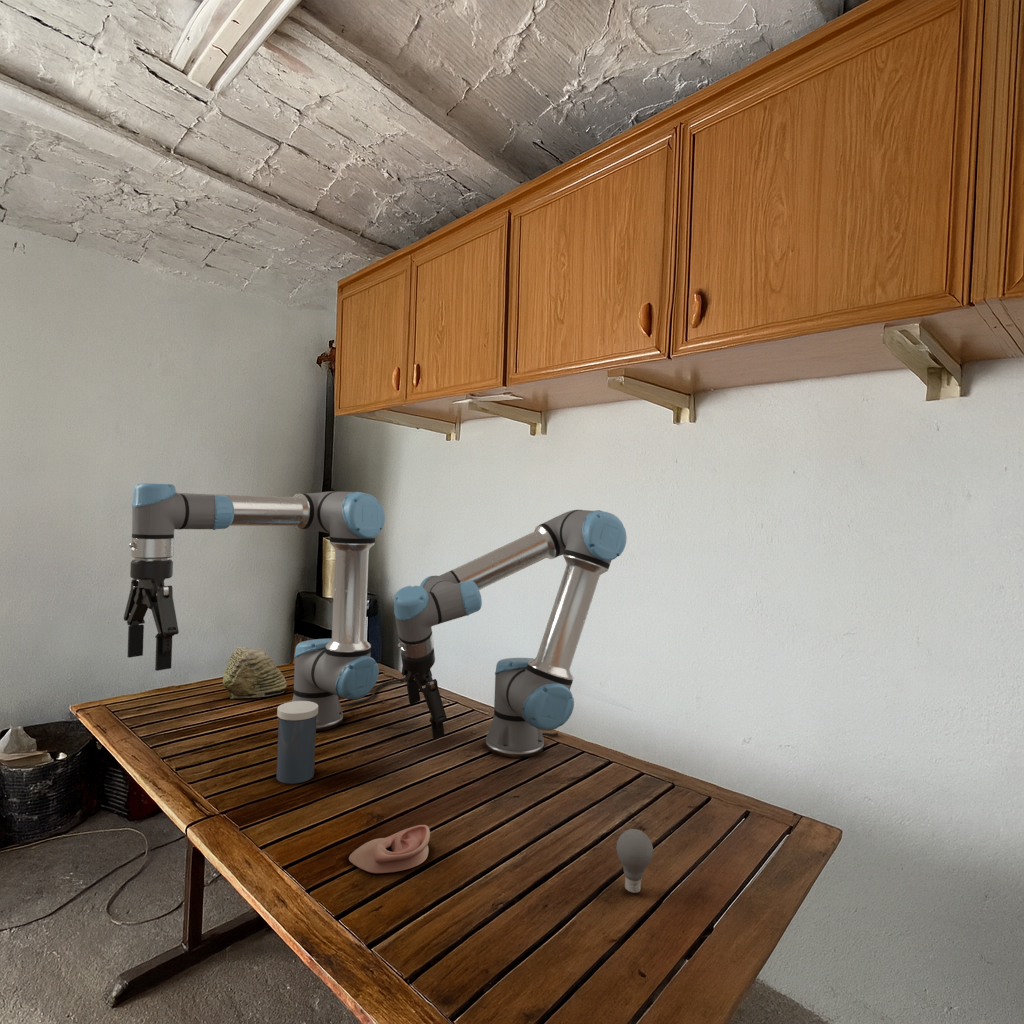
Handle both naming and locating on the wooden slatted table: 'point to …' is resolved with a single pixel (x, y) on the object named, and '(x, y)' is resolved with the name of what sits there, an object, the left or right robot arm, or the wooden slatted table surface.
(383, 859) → the anatomical model
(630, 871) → the light bulb
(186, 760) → the wooden slatted table surface
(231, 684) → the fossil
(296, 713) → the lid
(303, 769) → the jar
